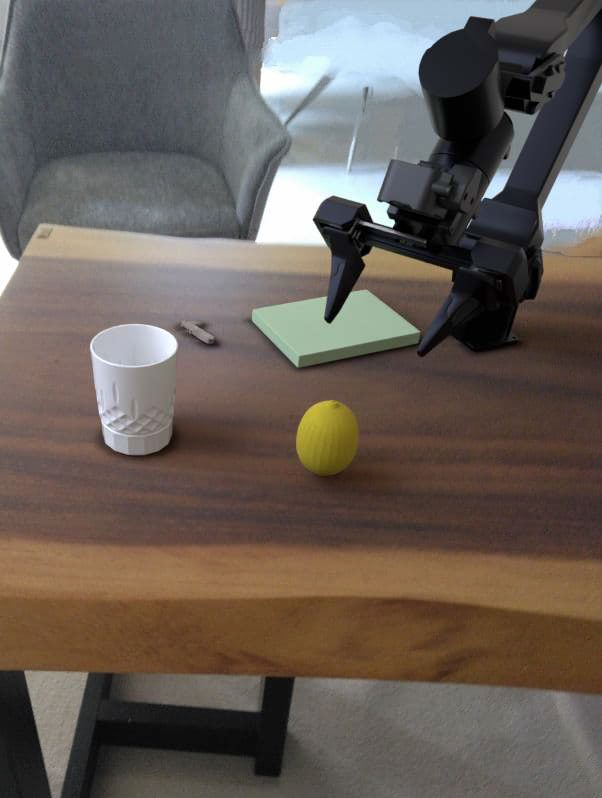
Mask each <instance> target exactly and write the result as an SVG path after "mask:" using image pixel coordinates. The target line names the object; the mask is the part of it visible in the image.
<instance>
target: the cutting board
mask: <svg viewBox="0 0 602 798" xmlns="http://www.w3.org/2000/svg"><path fill="white" fill-rule="evenodd" d="M326 301H327V296H320V297H315V298H310V299H309V298H308V299H303V300H297V301H293V302H287V303H282V304H275V305H269V306H265V307H259V308H254V309H252V311H251V312H252V313H251V321H252V323H254V324H255V326H256V327H257V328H258V329H259V330H260V331H261V332H262V333H263V334H264V335H265V336H266V337H267V338H268V340H270V341H271V343H273V345H275V346H276V347H277V348H278V349H279V350H280V352H282V354H284V356H286V357H287V358H288V359H289V361H291V363H292V364H294V366H295V367H296V368H298V369H299V368H304V367H309V366H314V365H318V364H324V363H329V362H334V361H339V360H344V359H348V358H353V357H354V358H355V357H357V356H362V355H363V356H364V355H368V354H372V353H378V352H383V351H387V350H392V349H397V348H403V347H407V346H411V345H417V344H419V342H420V337H421V331H420V330H419V329H418V328H416V327H415V326H414V325H413V324H412V323H410V322H409V321H408V320H406V319H405V318H404V317H402V316H401V315H400V314H399V313H397V312H396V311H395V310H393V309H392V308H391V307H390V306H389V305H387V304H386V303H384V301H382V300H381V299H379V298H378V297H377V296H376V295H374V294H373V292H370V290H368V289H366V288H365V289H360V290H353V291H351V293H350V294H349V296H348V298H347V300H346V302H345V303H344V305H343V307H342V309H341V310H340V312H339V313H338V315H337V316H336V317H335V319H334V320H333V321H332V323H331V324H329V323H327V322H326V321H325V320H324V314H325V308H326Z"/></svg>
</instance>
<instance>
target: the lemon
mask: <svg viewBox="0 0 602 798" xmlns="http://www.w3.org/2000/svg"><path fill="white" fill-rule="evenodd" d="M357 420H358V419H357V417H356V415H355V414H354V412H353V411H352V410H351V409H350V407H348V406H347V405H346V404H344V403H342V402H340V401H337V400H335V399H329V400H323V401H319V402H318V403H315V404H313V405H312V406H311V407H309V408H308V409H307V410H306V411H305V413H304V415H303V416H302V418H301V419H300V422H299V425H298V427H297V431H296V437H295V438H296V439H295V446H296V447H295V448H296V453H297V456H298V458H299V461H300V462H301V464H302V465H303V467H305V469H307V470H308V471H309V472H311V473H313V474H316V475H319V476H321V477H324V476H332V475H336V474H338V473H341V472H342V471H344V470H346V468H348V466H349V465H350V464H351V462H353V460H354V458H355V455H356V453H357V450H358V445H359V440H360V431H359V423H358V421H357Z"/></svg>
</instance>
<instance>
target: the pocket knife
mask: <svg viewBox="0 0 602 798" xmlns="http://www.w3.org/2000/svg"><path fill="white" fill-rule="evenodd" d="M180 323H181V324H180V326H181V327H183V328H184V329H186V333H187V334H189V335H193V336H194V337H196V338H198V339H199V340H201V341H202V342H204V343H206V344H214V343H215V337H214V336H213V335H212V334H210V333H208V332H207V331H206V330H204V329H202V328H201V327H199V326H202V325H203V324H204V323H205V322H204V321H194V320H186V319H185V320H181V321H180Z"/></svg>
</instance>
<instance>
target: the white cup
mask: <svg viewBox="0 0 602 798" xmlns="http://www.w3.org/2000/svg"><path fill="white" fill-rule="evenodd" d="M178 343H179V342H178V339H177V338H176V337H175V336H174V335H173V334H172V333H171V332H169V331H168V330H166V329H164V328H161V327H158V326H154V325H150V324H143V323H127V324H126V323H125V324H119V325H115V326H112V327H108V328H106V329H104V330H102V331H100V332H99V333H97V334H96V335H94V336H93V338H92V339H91V341H90V344H89V347H90V348H89V349H90V356H91V364H92V372H93V380H94V381H93V383H94V389H95V394H96V401H97V408H98V415H99V418H100V421H101V423H100V424H101V430H102V436H103V439H104V444H105V445H106V446H108V447H109V448H110V449H112V450H113V451H114V452H117V453H121V454H124V455H127V456H146V455H150V454H153V453H157V452H159V451H161V450H162V449H163V448H165V447H167V446H168V445H169V443H170V440H171V438H172V436H173V423H174V422H173V421H174V419H173V418H174V415H175V414H174V413H175V400H176V392H177V391H176V390H177V374H178V373H177V370H178V354H179V353H178V351H179V344H178Z"/></svg>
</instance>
